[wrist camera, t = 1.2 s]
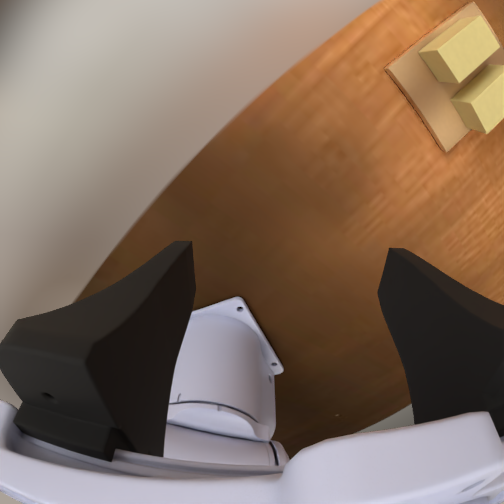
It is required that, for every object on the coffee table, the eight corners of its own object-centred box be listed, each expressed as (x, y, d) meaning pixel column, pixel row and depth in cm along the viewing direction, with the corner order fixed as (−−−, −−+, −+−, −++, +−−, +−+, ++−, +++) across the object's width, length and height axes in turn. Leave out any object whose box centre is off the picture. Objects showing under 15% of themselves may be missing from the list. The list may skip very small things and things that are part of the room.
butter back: (503, 92, 15) (525, 96, 13) (466, 127, 17) (487, 134, 15) (488, 64, 14) (510, 65, 12) (449, 99, 16) (470, 103, 14)
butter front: (479, 47, 14) (500, 46, 12) (438, 82, 16) (459, 83, 13) (459, 19, 13) (480, 14, 11) (417, 52, 15) (436, 49, 13)
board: (514, 80, 15) (521, 81, 14) (441, 150, 19) (446, 152, 18) (468, 2, 13) (474, 1, 12) (383, 68, 16) (388, 67, 16)
